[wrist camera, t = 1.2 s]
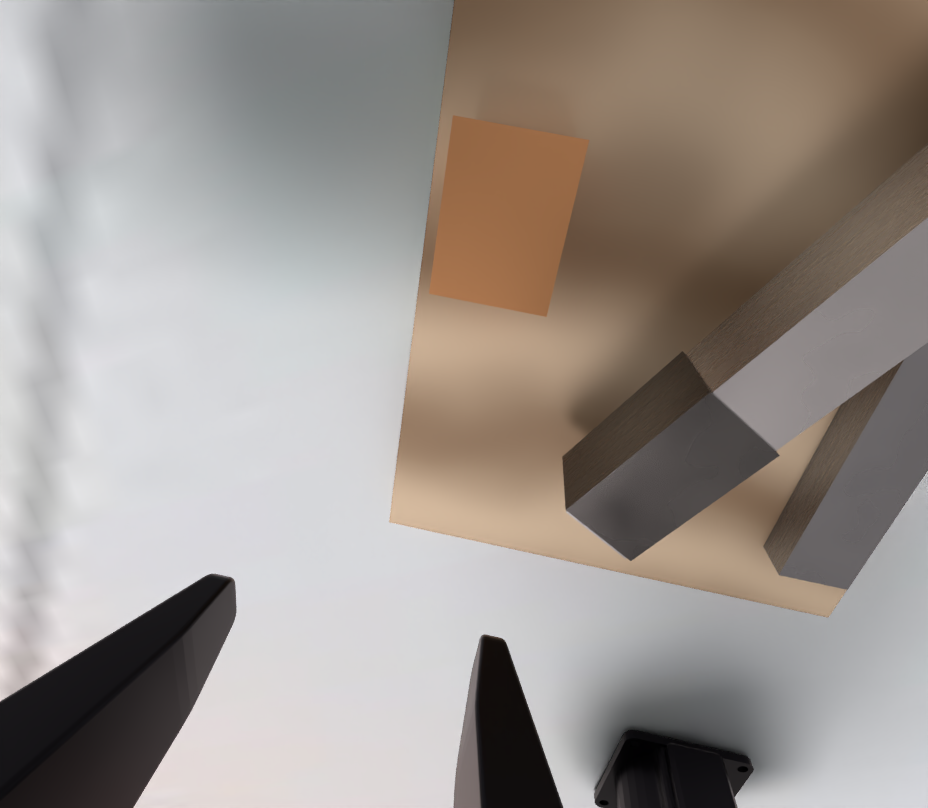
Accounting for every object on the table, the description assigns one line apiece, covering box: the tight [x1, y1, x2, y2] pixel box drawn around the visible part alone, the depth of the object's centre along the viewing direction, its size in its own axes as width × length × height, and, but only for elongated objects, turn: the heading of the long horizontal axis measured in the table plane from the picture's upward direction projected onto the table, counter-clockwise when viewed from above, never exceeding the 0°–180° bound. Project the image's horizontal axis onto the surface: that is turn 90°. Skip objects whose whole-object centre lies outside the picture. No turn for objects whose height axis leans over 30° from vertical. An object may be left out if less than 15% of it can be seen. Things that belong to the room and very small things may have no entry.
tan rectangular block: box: [429, 115, 589, 317], centre depth 14 cm, size 4×3×4 cm
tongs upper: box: [562, 144, 928, 561], centre depth 13 cm, size 16×3×3 cm, turn 141°
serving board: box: [389, 0, 928, 617], centre depth 17 cm, size 22×18×1 cm
